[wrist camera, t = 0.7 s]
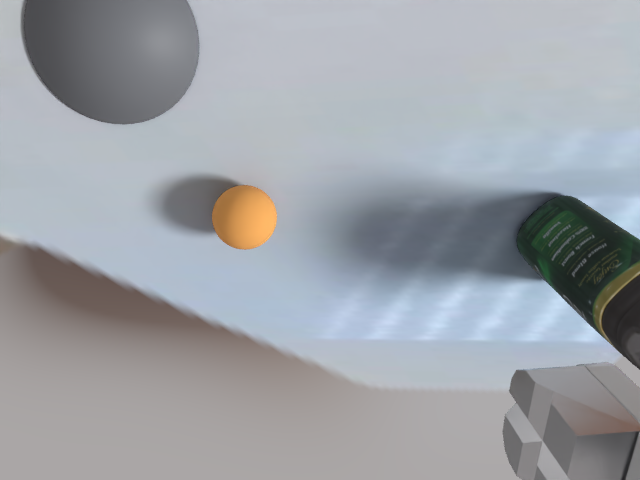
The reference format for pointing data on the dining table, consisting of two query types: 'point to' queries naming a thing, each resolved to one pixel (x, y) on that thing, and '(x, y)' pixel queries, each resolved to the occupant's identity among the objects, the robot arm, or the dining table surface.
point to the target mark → (114, 54)
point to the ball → (244, 217)
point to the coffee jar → (588, 268)
